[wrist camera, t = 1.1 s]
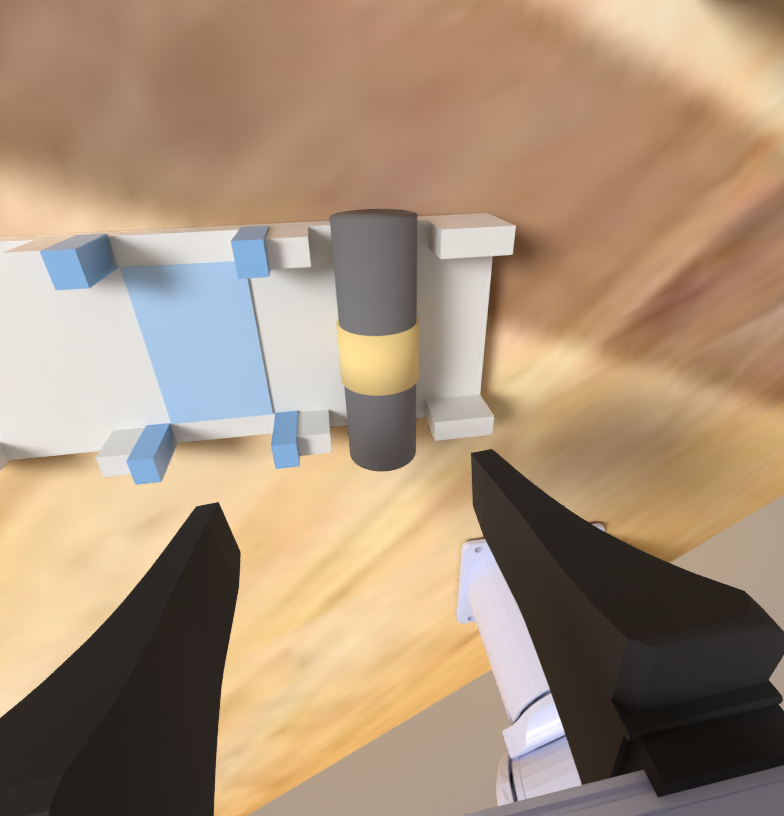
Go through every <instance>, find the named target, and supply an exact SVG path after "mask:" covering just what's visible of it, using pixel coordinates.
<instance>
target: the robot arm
mask: <svg viewBox="0 0 784 816" xmlns="http://www.w3.org/2000/svg"><path fill="white" fill-rule="evenodd" d="M471 463H472V494H473V507H474V510H475V513H476V516H477V519H478V522H479V524H480V527H481V530H482V533H483V536H484V538H485V539H480V540H473V541H468V542H466V543H464V544H463V546H462V552H461V564H460V576H459V587H458V599H457V611H456V618H457V621H458V622H459V623H469V622H475V621H476V624H477V626H478V629H479V632H480V635H481V638H482V641H483V644H484V647H485V650H486V653H487V656H488V659H489V662H490V665H491V668H492V671H493V674H494V676H495V679H496V682H497V685H498V688H499V691H500V694H501V697H502V700H503V703H504V706H505V709H506V712H507V715H508V717H509V721H510V724H511V726H510V727H508V728H506V729H505V730H503V732H502V733H503V736H504V739H505V742H506V745H507V748H508V752H509V753H506V754H504V755H503V756H502V757H501V759H500V761H499V766H498V775H497V780H496V794H497V802H498V806H497V807H492V808H489V809H484V810H480V811H477V812H473V813H468V814H465V815H461V816H784V711H783V709H782V708H781V707H780V706H779V704H780V703H781V702H782V701H783V699H782V696H781V694H780V693H779V692H778V690H777V689H776V688H775V687H774V686H773V685H772V683H771V682H770V681H769V678H770V676H771V675H772V673H773V672H774V670H775V668H776V667H777V665H778V663H779V662H780V660H781V659H782V657H783V655H784V631H783V630H782V629H781V628H780V627H779V626H778V625H777V624H776V622H775V621H774V620H773V619H772V618H771V617H770V616H769V615H768V614H767V613H766V612H765V611H764V609H763V608H761V606H760V605H759V604H758V603H757V602H755V601H754V600H753V599H752V598H751V597H750V596H749V595H748V594H747V593H746V592H745V591H743V590H740V589H737V588H734V587H732V586H729V585H726V584H723V583H720V582H717V581H714V580H712V579H709V578H706V577H703V576H700V575H697V574H695V573H692V572H689V571H687V570H685V569H682V568H680V567H677V566H675V565H673V564H670V563H668V562H665V561H663V560H661V559H659V558H656V557H654V556H652V555H650V554H647V553H645V552H643V551H641V550H639V549H637V548H635V547H633V546H631V545H629V544H627V543H625V542H623V541H621V540H619V539H617V538H615V537H613V536H611V535H610V534H608V533H606V532H605V528H604V527H603V525H602V524H600V523H596V524H591V523H589V522H587V521H585V520H584V519H582V518H581V517H579V516H578V515H576V514H574V513H573V512H571V511H570V510H569V509H567V508H566V507H564V506H563V505H561V504H560V503H558V502H557V501H556V500H554V499H553V498H552V497H550V496H549V495H547V494H546V493H545V492H544V491H542V490H541V489H540V488H538V487H537V486H536V485H534V484H533V483H532V482H531V481H529V480H528V479H527V478H526V477H524V476H523V475H522V474H521V473H520V472H518V471H517V470H516V469H515V468H514V467H512V466H511V465H510V464H509V463H508V462H507V461H506V460H504V459H503V458H502V457H501V456H500V455H499V454H497V453H496V452H495V451H494V450H492V449H490V450H485V451H480V452H474V453H471ZM240 553H241V552H240V550H239V548H238V545H237V543H236V541H235V538H234V536H233V534H232V532H231V529H230V527H229V525H228V523H227V520H226V518H225V516H224V513H223V511H222V509H221V507H220V504H219V502H217V503H212V504H207V505H201V506H196V508H195V509H194V510H193V512H192V513H191V514H190V516H189V517H188V518H187V520H186V521H185V522H184V524H183V525H182V526H181V528H180V529H179V531H178V532H177V533H176V535H175V536H174V537H173V539H172V540H171V542H170V543H169V544H168V546H167V547H166V548H165V550H164V551H163V552H162V554H161V555H160V556H159V558H158V559H157V560H156V562H155V563H154V564H153V565H152V567H151V568H150V569H149V571H148V572H147V573H146V574H145V576H144V577H143V578H142V579H141V580H140V582H139V583H138V584H137V585H136V587H135V588H134V589H133V590H132V591H131V593H130V594H129V595H128V596H127V597H126V599H125V600H124V601H123V602H122V603H121V605H120V606H119V607H118V608H117V609H116V610H115V611H114V612H113V613H112V615H111V616H110V617H109V618H108V619H107V620H106V621H105V622H104V623H103V624H102V625H101V626H100V627H99V628H98V629H97V631H96V632H95V633H94V634H93V635H92V636H91V637H90V638H89V639H88V640H87V641H86V642H85V643H84V644H83V645H82V646H81V647H80V648H79V649H78V650H77V651H75V652H74V653H73V654H72V655H71V656H70V657H69V658H68V659H67V660H66V661H65V662H64V663H63V664H62V665H61V666H60V667H58V668H57V669H56V670H55V671H54V672H53V673H52V674H51V675H50V676H49V677H48V678H47V679H46V680H45V681H43V682H42V683H41V684H40V685H39V686H38V687H37V688H35V689H34V690H33V691H32V692H31V693H30V694H28V695H27V696H26V697H25V698H24V699H23V700H22V701H20V702H19V703H18V704H17V705H15V706H14V707H13V708H12V709H11V710H9V711H8V712H7V713H6V714H5V715H3V716H2V717H1V718H0V816H214V793H215V768H216V752H217V736H218V722H219V710H220V698H221V686H222V679H223V672H224V666H225V660H226V655H227V650H228V644H229V639H230V633H231V628H232V623H233V617H234V612H235V606H236V601H237V595H238V589H239V576H240Z"/></svg>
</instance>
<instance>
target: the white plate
mask: <svg viewBox="0 0 784 816" xmlns="http://www.w3.org/2000/svg"><path fill="white" fill-rule="evenodd" d="M515 229H516V226H515V225H513V224H511V223H509V222H506V221H504V220H502V219H500V218H498V217H495V216H493V215H491V214H489V213H479V214H459V215H438V216H418V217H417V317H418V318H419V378H418V381H417V383H416V418H425V419H426V421H427V424H428V426H429V429H430V431H431V433H432V436H433V438H434V441H440V440H449V439H458V438H467V437H476V436H485V435H492V432H493V424H494V415H493V414H492V412H491V410H490V409H489V407H488V406H487V404H486V403H485V401H484V400H483V398H482V397H481V395H480V390H481V379H482V368H483V357H484V346H485V335H486V324H487V313H488V302H489V291H490V280H491V269H492V258H493V256H501V255H513V247H514V238H515ZM337 320H338V308H337V297H336V285H335V274H334V262H333V251H332V240H331V228H330V221H315V222H295V223H274V224H254V225H233V226H213V227H192V228H172V229H151V230H131V231H110V232H90V233H69V234H49V235H28V236H8V237H0V470H1V469H2V468H3V467H4V466H5V465H6V464H7V463H8V462H9V461H10V460H17V459H27V458H37V457H46V456H56V455H66V454H76V453H85V452H95V451H99V453H98V454H97V456H96V457H95V459H96V461H97V463H98V466H99V468H100V470H101V472H102V474H103V476H104V477H111V476H120V475H129V474H131V475H132V477H133V479H134V482H135V484H136V485H137V484H146V483H155V482H162V479H163V477H164V474H165V472H166V470H167V467H168V465H169V463H170V460H171V458H172V456H173V453H174V451H175V449H176V446H177V443H182V442H192V441H202V440H212V439H221V438H231V437H241V436H251V435H260V434H270V433H273V435H272V443H271V447H272V452H273V458H274V463H275V468H276V469H279V468H288V467H297V466H300V456H303V455H312V454H321V453H330V452H332V444H331V430H330V427H338V426H348V423H347V412H346V400H345V389H344V385H343V383H342V381H341V371H340V360H339V349H338V338H337V327H336V322H337Z"/></svg>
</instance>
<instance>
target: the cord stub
mask: <svg viewBox="0 0 784 816" xmlns="http://www.w3.org/2000/svg"><path fill="white" fill-rule="evenodd" d="M330 228H331V240H332V251H333V262H334V274H335V285H336V297H337V308H338V320H337V322H336V327H337V338H338V349H339V360H340V371H341V381H342V383H343V385H344V389H345V400H346V412H347V423H348V435H349V446H350V455H351V458H352V460H353V461H354V462H355V463H356V464H357V465H359V466H360V467H362V468H365V469H368V470H372V471H391V470H395V469H398V468H401V467H403V466H405V465H407V464H408V463H409V462H410V461H411V460H412V459H413V458H414V456H415V453H416V383H417V381H418V378H419V318H418V317H417V213H415V212H411V211H406V210H396V209H366V210H353V211H346V212H340V213H336V214H333V215H331V216H330Z"/></svg>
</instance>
